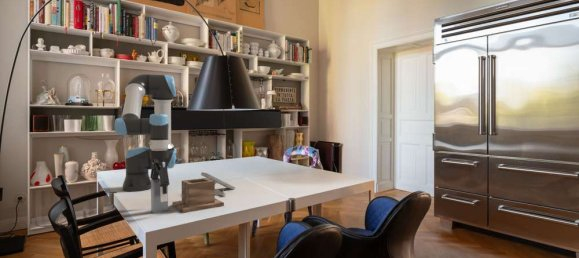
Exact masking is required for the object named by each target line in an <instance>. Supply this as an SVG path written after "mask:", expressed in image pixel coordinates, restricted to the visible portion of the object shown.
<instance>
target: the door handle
mask: <svg viewBox="0 0 579 258" xmlns="http://www.w3.org/2000/svg"><path fill="white" fill-rule="evenodd" d="M200 175H201V176H202V177H203V178H208V179H210V180H213V181H215V185H216V184H218V185H220V186H223V187H225V188H226V189H230V190H233V191H234V190H235V189H236V186H233V185H232V184H230V183H227V181H226V182H225V181H224V180H222V179H219V178H218V177H215V176H214V175H212V174H209V173H208V172H203V171H202V172H201V173H200ZM215 195H218V196H221V197H224V198H225V197H226V195H227V192H226V191H222V190H219V189H216V188H215Z"/></svg>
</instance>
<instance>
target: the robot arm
mask: <svg viewBox="0 0 579 258" xmlns="http://www.w3.org/2000/svg"><path fill="white" fill-rule="evenodd" d="M175 84H176V83H175V78H174V76H172V75H170V74H169V75H167V74H153V73H150V74H149V73H142V74H138V75H135V76H134V77H133V78H131V79H130V80H129V81H128V82H127V84H126V85H125V88H124V93H125V100H124V105H123V110H122V112H121V113H122V115H121V117H119V118H118V117H117V118H116V119H115V120H114V132H115V135H118V136H149V142H148V145H149V147H148V146H140V147H133V148H129V149H127V150H126V152H125V178H124V180H123V183H122V191H125V192H140V191H141V192H142V191H145V190H151V179H160V182H161V185H160V199H161V202H165V201H168V202H169V186H170V180H169V179H170V178H169V171H168V170H169V169H173V168H174V167H175V165H176V157H177V148H175V145H174V144H173V143H172V108H171V107H172V105H171V103H172V102H173V101H174V98H175V97H177V91H176V85H175ZM145 96H147V97H151V98H150V100H151V101H152V102H154V105H153V107H154V113H152V114H150V115H149V117H148V118H147V117H146V118H144V117H143V118H141V111H142V104H143V98H144V97H145ZM149 170H150V174H149Z"/></svg>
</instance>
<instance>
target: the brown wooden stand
mask: <svg viewBox="0 0 579 258" xmlns="http://www.w3.org/2000/svg"><path fill="white" fill-rule="evenodd" d="M215 187H216V184H215V181H213V180H210V179H208V178H206V177H202V178H193V179H183V180H181V200H175V201H172V207H174V208H176V209H177V210H179V212H181V213H183V214H185V213H191V212H196V211H201V210H208V209H214V208H220V207H225V202H223V201H222V200H219V199H218V198H216V194H215V189H216V188H215Z"/></svg>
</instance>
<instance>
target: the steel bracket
mask: <svg viewBox="0 0 579 258" xmlns="http://www.w3.org/2000/svg"><path fill="white" fill-rule="evenodd" d="M150 180H151V188H150V211H152V212H151V213H152V214H159V213H160V214H161V213H165V212H168V211H169V200H168V201H165V202H161V199H160V185H161V182H160V178H159V179H151V178H150Z"/></svg>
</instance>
